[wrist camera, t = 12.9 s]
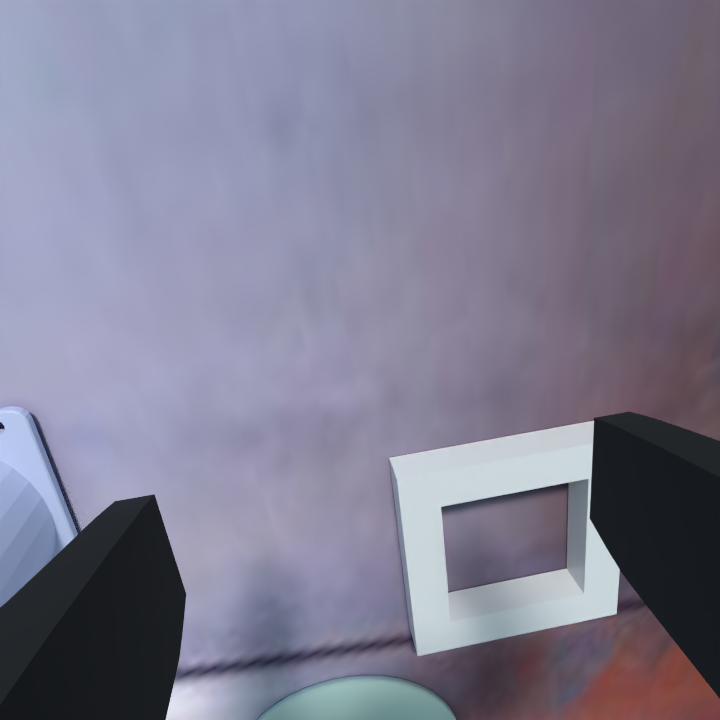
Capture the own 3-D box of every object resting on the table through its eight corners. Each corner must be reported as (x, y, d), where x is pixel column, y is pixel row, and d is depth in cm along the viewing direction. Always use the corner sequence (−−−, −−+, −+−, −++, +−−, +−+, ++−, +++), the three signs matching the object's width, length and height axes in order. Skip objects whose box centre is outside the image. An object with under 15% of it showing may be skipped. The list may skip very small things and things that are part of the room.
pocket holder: (409, 626, 24) (417, 656, 23) (389, 457, 21) (396, 479, 19) (597, 587, 25) (616, 614, 23) (606, 418, 22) (628, 437, 20)
